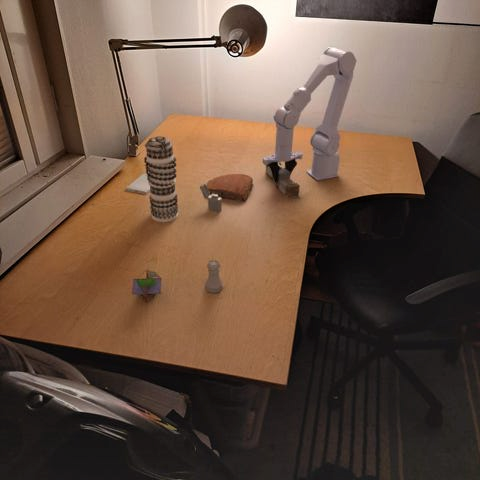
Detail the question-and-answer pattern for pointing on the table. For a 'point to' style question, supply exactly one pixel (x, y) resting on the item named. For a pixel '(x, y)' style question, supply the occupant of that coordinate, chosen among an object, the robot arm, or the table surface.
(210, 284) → the rook chess piece
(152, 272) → the geometric puzzle
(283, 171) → the grey block
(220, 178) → the ceramic shard
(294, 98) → the robot arm
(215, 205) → the lighter
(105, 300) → the table surface
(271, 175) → the cream bar
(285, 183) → the door frame
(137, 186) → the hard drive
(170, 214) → the decorative candle
